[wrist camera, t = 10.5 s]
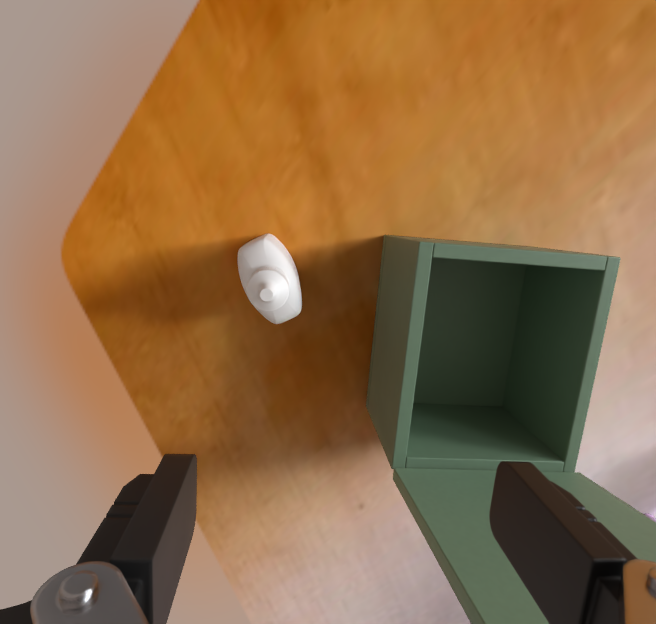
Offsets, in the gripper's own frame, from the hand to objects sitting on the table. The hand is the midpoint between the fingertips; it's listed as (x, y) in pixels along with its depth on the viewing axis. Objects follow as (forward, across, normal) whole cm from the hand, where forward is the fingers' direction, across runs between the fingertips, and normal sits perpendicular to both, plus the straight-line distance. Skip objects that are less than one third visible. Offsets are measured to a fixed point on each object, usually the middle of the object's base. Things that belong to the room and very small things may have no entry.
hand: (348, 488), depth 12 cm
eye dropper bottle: (+25, +3, -3) cm, 26 cm away
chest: (+25, -12, +2) cm, 28 cm away
